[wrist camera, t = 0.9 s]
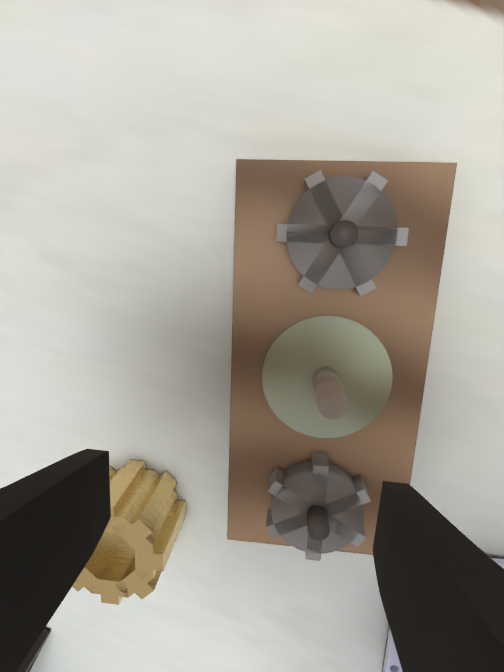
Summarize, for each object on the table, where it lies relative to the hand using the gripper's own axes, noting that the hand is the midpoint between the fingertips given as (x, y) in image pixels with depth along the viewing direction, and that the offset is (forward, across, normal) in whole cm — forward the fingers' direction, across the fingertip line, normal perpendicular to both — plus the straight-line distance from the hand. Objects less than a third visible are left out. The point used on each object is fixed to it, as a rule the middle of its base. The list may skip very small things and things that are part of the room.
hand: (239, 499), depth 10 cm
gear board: (+10, -3, -1) cm, 11 cm away
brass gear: (+10, +7, +9) cm, 15 cm away
